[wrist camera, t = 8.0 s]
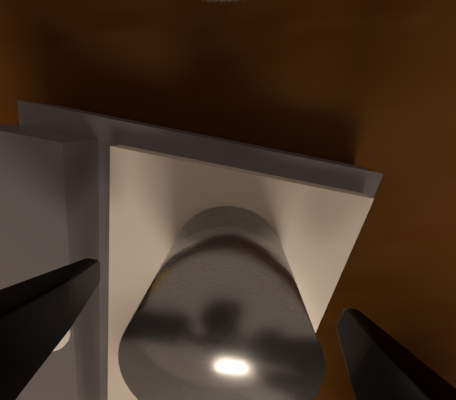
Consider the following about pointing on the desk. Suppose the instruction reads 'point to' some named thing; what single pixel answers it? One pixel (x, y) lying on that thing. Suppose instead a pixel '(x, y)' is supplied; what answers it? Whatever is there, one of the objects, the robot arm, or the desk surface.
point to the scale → (153, 220)
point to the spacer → (222, 318)
